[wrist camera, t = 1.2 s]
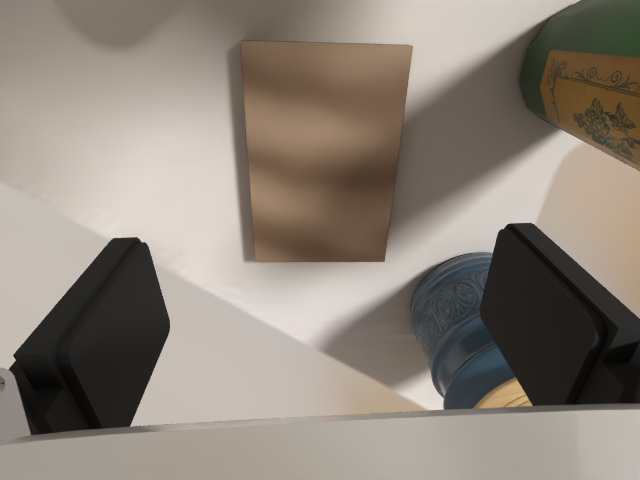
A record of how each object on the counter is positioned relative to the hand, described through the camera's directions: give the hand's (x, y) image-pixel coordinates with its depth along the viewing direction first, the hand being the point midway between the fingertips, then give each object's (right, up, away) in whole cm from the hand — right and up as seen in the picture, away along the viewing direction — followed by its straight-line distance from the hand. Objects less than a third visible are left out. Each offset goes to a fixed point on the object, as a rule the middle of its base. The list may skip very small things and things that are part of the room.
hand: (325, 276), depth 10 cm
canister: (+16, -5, +30) cm, 35 cm away
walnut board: (0, +8, +22) cm, 23 cm away
